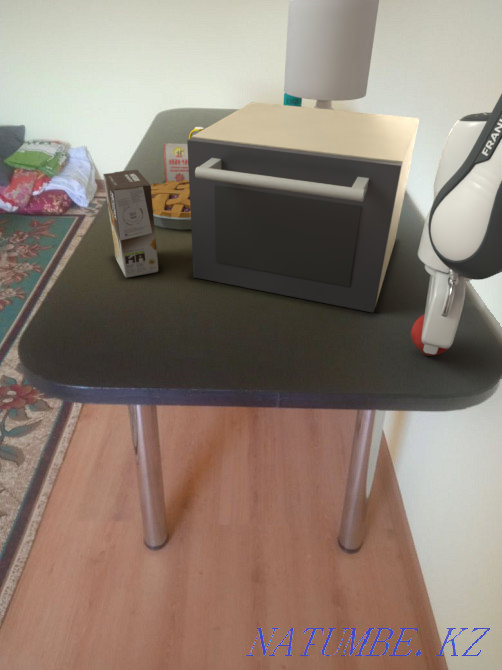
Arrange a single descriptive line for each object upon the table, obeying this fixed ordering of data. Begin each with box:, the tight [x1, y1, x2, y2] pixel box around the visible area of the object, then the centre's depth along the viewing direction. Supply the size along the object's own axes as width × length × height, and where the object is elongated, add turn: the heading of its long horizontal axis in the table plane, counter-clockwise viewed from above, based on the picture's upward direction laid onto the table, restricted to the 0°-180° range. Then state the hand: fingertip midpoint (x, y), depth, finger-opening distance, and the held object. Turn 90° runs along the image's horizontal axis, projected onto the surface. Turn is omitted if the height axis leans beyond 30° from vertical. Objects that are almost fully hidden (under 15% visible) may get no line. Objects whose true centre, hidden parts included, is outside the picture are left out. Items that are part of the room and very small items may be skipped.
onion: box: [410, 313, 456, 357], centre depth 73 cm, size 6×6×8 cm
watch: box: [188, 126, 205, 139], centre depth 158 cm, size 6×3×6 cm, turn 74°
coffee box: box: [102, 169, 159, 278], centre depth 91 cm, size 9×6×16 cm
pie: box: [151, 180, 191, 231], centre depth 115 cm, size 22×22×5 cm
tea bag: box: [163, 143, 189, 183], centre depth 129 cm, size 4×7×10 cm, turn 92°
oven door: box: [186, 138, 403, 314], centre depth 79 cm, size 7×32×24 cm, turn 70°
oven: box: [192, 101, 420, 308], centre depth 93 cm, size 28×32×24 cm
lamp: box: [283, 0, 380, 110], centre depth 136 cm, size 22×22×40 cm
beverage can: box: [282, 92, 303, 107], centre depth 166 cm, size 6×6×15 cm
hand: (431, 336), depth 73 cm, fingers closed on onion, 6 cm apart
